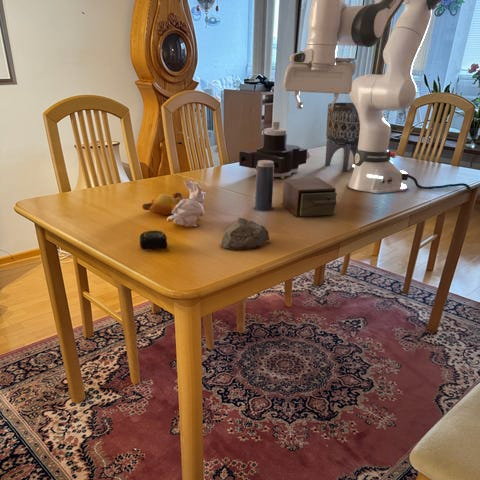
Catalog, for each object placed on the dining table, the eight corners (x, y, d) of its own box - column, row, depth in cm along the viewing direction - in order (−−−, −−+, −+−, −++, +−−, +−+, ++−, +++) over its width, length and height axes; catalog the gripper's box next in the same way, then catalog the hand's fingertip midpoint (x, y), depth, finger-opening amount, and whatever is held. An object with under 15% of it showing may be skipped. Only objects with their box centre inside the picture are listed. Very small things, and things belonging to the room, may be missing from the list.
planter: (314, 167, 208) (320, 104, 195) (332, 161, 222) (339, 101, 209) (354, 174, 199) (364, 107, 185) (370, 166, 213) (380, 104, 199)
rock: (255, 234, 128) (256, 211, 124) (276, 243, 122) (278, 220, 119) (217, 245, 120) (217, 221, 117) (239, 255, 115) (239, 231, 111)
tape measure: (140, 253, 115) (139, 239, 113) (141, 243, 121) (140, 230, 119) (167, 252, 116) (166, 238, 114) (167, 242, 122) (166, 229, 120)
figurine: (213, 220, 138) (213, 178, 132) (181, 233, 128) (179, 188, 121) (193, 215, 142) (192, 174, 136) (160, 228, 132) (157, 183, 125)
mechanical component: (240, 121, 182) (283, 115, 202) (239, 174, 193) (280, 164, 212) (283, 126, 170) (325, 120, 190) (280, 183, 181) (320, 172, 200)
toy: (137, 206, 138) (152, 192, 151) (146, 225, 141) (160, 210, 154) (170, 195, 135) (182, 182, 148) (178, 215, 138) (190, 200, 150)
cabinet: (332, 214, 146) (336, 188, 142) (296, 216, 144) (298, 190, 139) (315, 202, 158) (318, 177, 154) (282, 204, 156) (283, 179, 151)
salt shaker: (269, 205, 154) (271, 159, 146) (274, 210, 149) (276, 163, 142) (253, 206, 153) (254, 160, 145) (257, 211, 148) (259, 163, 140)
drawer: (340, 219, 140) (343, 197, 136) (306, 221, 137) (308, 199, 134) (318, 202, 155) (320, 182, 152) (287, 204, 153) (288, 184, 149)
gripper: (356, 58, 133) (349, 110, 140) (287, 56, 136) (283, 106, 143) (357, 58, 128) (349, 112, 134) (285, 55, 131) (281, 108, 137)
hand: (315, 109), depth 139 cm, fingers open, 8 cm apart
